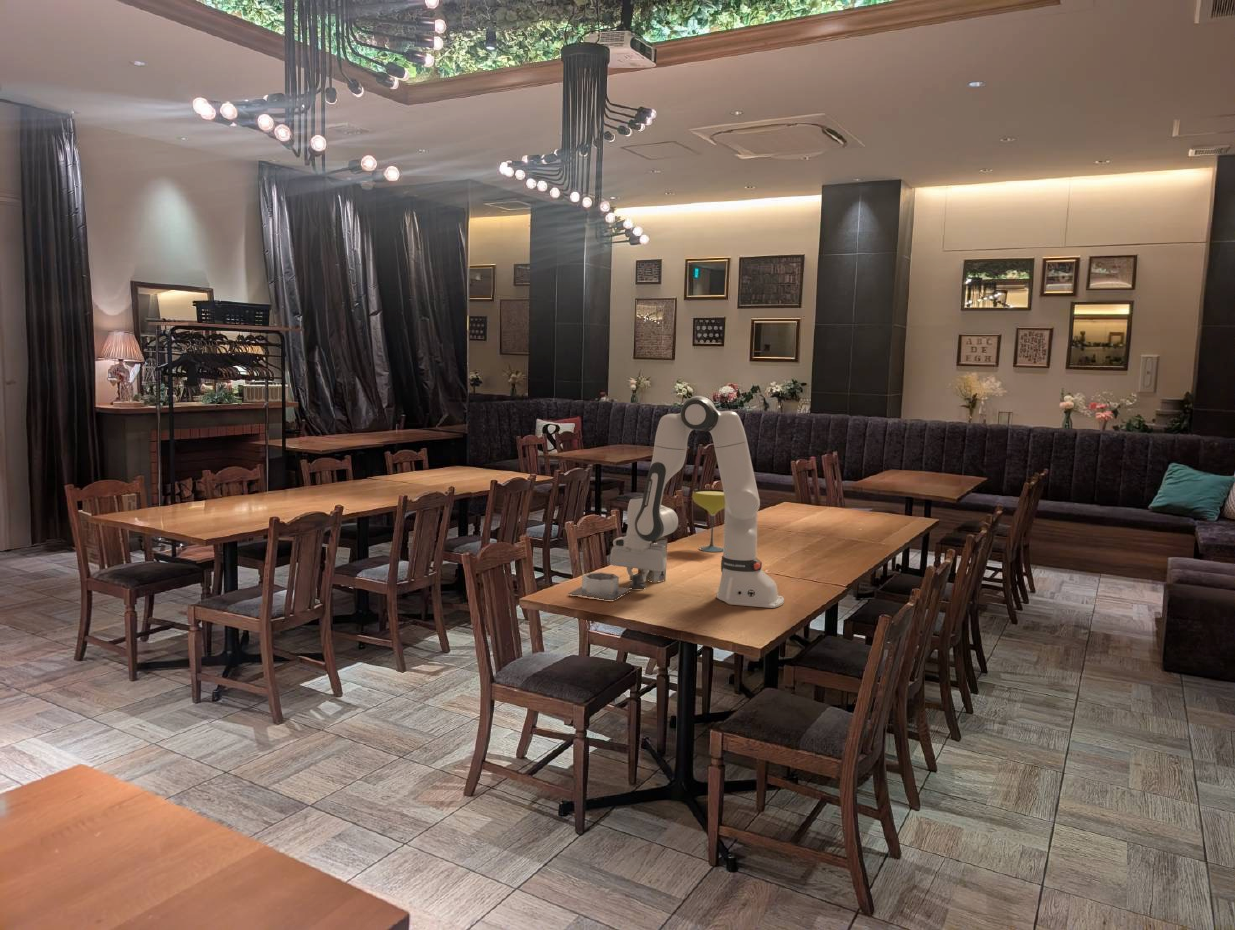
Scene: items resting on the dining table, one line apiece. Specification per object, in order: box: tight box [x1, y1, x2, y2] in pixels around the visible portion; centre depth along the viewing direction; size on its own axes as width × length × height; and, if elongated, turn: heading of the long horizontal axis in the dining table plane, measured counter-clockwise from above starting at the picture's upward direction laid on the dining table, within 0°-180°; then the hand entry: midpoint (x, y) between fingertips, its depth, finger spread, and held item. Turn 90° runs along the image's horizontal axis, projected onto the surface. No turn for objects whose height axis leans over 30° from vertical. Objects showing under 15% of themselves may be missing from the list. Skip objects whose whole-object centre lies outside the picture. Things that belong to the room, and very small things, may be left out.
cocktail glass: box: [691, 488, 725, 553], centre depth 375 cm, size 18×18×25 cm
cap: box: [628, 572, 647, 590], centre depth 306 cm, size 6×6×5 cm
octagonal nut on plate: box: [568, 571, 632, 600], centre depth 296 cm, size 16×16×6 cm
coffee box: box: [637, 536, 668, 583], centre depth 318 cm, size 9×6×16 cm
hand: (637, 580), depth 306 cm, fingers open, 3 cm apart
